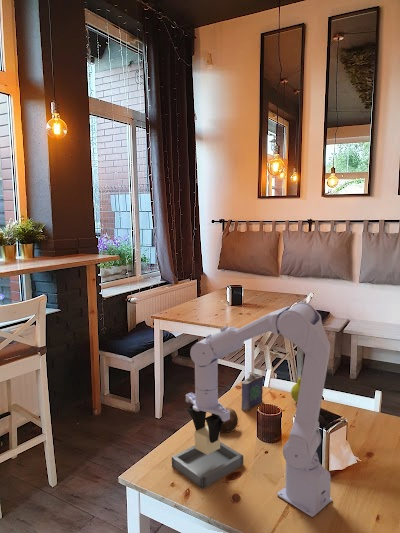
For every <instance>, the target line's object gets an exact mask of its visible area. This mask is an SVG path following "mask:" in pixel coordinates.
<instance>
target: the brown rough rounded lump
mask: <svg viewBox="0 0 400 533" xmlns="http://www.w3.org/2000/svg"><path fill="white" fill-rule="evenodd" d="M223 407H224V408H225V409H226V410H228V411H229V412H230V419H229V420H227V421H225V422H224V423H223V425H222V427H221V430H220V433H230V432H232V431H233V430H235V429H236V427H237V426H238V422H239V421H238V420H239V418H238V414H237V413H236V411H235V410H234V409H232V408H231V407H226V406H223Z"/></svg>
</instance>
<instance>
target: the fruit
mask: <svg viewBox="0 0 400 533" xmlns="http://www.w3.org/2000/svg"><path fill="white" fill-rule="evenodd" d="M302 372H303V370H300V373H301V376H300V377H298V379H297V382H296V383H295V384H294V385H293V386H292V388H291V390H290V391H291V392H290V394H291V398H292V399H293V401H294V402H295V403H297V402H298V396H299V390H300V384H301V378H302Z"/></svg>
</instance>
